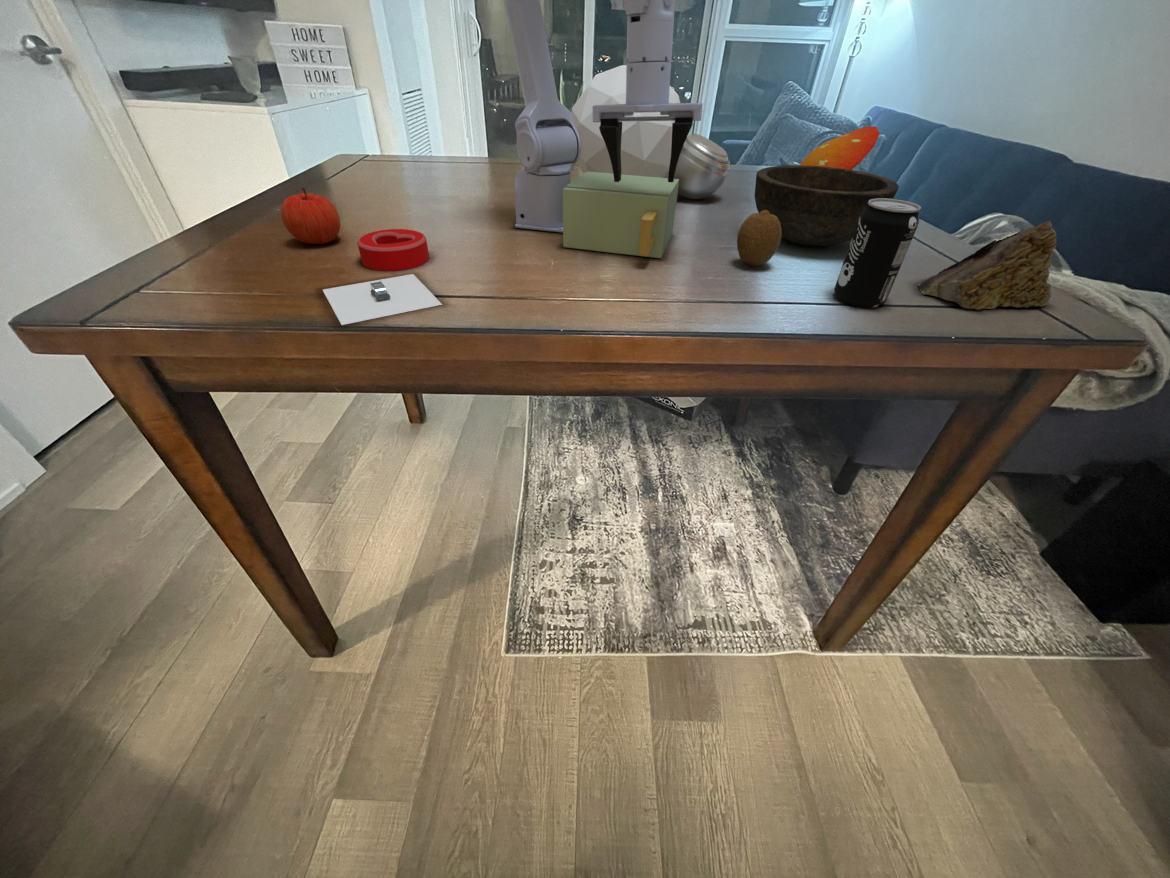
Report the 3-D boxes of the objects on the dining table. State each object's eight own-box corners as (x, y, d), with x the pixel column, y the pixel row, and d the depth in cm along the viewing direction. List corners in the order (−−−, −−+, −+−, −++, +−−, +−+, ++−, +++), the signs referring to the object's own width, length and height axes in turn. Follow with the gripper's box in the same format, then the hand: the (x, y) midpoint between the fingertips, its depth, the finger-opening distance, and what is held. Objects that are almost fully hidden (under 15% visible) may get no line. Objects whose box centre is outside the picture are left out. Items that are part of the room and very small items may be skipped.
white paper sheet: (341, 325, 58) (337, 312, 57) (322, 289, 65) (318, 278, 65) (442, 304, 63) (440, 293, 62) (413, 273, 71) (411, 263, 70)
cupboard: (661, 257, 79) (669, 195, 73) (565, 245, 82) (565, 185, 77) (672, 235, 88) (679, 179, 83) (585, 226, 91) (586, 171, 86)
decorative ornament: (354, 270, 71) (348, 248, 69) (372, 248, 79) (367, 227, 77) (422, 271, 72) (418, 248, 70) (434, 249, 79) (430, 228, 77)
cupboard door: (655, 269, 74) (662, 207, 69) (552, 257, 77) (551, 196, 72) (661, 256, 79) (668, 196, 73) (564, 245, 82) (564, 187, 76)
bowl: (874, 234, 92) (897, 173, 85) (874, 271, 76) (901, 201, 70) (754, 217, 99) (767, 160, 92) (731, 249, 83) (745, 182, 77)
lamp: (557, 153, 117) (598, 28, 100) (689, 214, 124) (746, 107, 108) (545, 187, 100) (591, 46, 84) (697, 255, 108) (767, 137, 92)
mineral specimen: (891, 261, 72) (995, 195, 69) (909, 331, 79) (1004, 274, 76) (953, 287, 62) (1078, 211, 59) (967, 364, 69) (1079, 301, 66)
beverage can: (823, 290, 70) (854, 197, 62) (868, 289, 70) (904, 197, 63) (846, 309, 65) (883, 211, 57) (894, 309, 65) (937, 211, 58)
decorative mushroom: (834, 197, 114) (858, 120, 105) (866, 222, 98) (897, 134, 89) (768, 194, 115) (786, 117, 106) (789, 218, 99) (812, 130, 89)
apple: (282, 241, 80) (264, 186, 75) (331, 231, 85) (317, 179, 80) (304, 253, 76) (286, 196, 71) (354, 242, 81) (340, 188, 76)
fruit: (723, 261, 78) (734, 206, 73) (756, 256, 80) (768, 203, 75) (748, 274, 74) (762, 217, 69) (782, 269, 76) (797, 213, 71)
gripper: (587, 64, 62) (589, 185, 70) (706, 59, 59) (694, 186, 67) (597, 65, 68) (598, 177, 76) (706, 61, 65) (695, 178, 73)
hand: (643, 181), depth 72 cm, fingers open, 7 cm apart
